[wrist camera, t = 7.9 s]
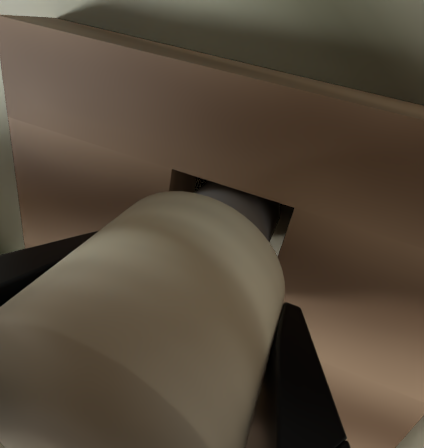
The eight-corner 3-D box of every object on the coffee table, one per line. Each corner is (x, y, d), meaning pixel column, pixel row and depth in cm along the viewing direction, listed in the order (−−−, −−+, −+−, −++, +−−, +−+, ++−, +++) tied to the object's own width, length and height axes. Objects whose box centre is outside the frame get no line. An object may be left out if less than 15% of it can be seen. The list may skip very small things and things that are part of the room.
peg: (172, 238, 15) (-17, 450, 7) (188, 125, 12) (-77, 270, 5) (283, 279, 14) (198, 572, 6) (326, 165, 11) (271, 429, 4)
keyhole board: (344, 450, 17) (342, 506, 15) (71, 328, 21) (39, 361, 19) (572, 141, 9) (638, 172, 7) (55, 17, 12) (-6, 14, 10)
